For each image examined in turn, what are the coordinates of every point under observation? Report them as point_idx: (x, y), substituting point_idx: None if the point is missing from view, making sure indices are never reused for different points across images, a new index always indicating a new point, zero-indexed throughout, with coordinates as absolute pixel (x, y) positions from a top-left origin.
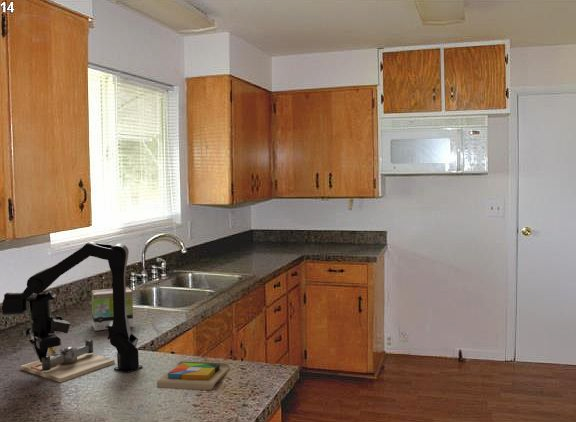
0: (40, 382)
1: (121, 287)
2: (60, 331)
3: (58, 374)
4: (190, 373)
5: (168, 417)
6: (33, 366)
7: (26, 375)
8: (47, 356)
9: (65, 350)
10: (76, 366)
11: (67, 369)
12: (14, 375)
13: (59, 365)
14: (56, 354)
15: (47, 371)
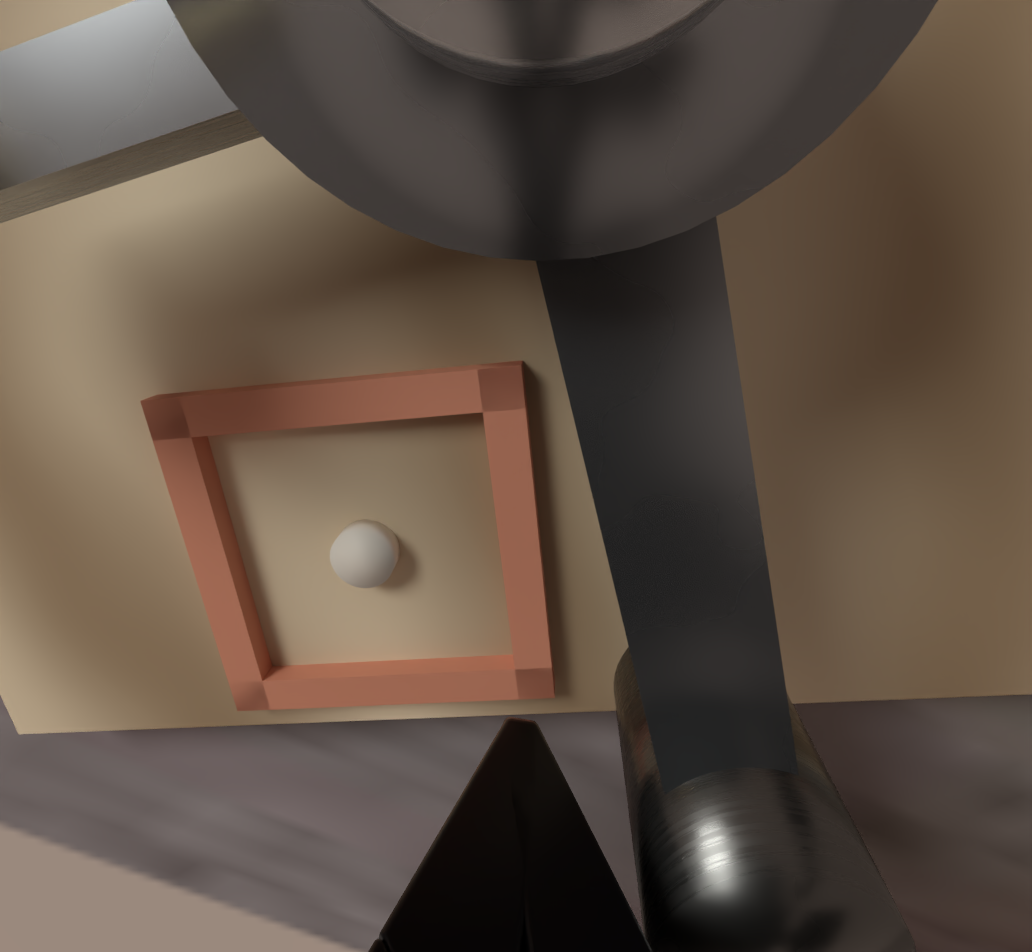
0: (847, 786)
1: None
2: None
3: (1021, 599)
4: None
5: None
6: (265, 687)
7: (393, 758)
8: (804, 938)
9: (659, 49)
10: (993, 50)
11: (951, 332)
12: (270, 833)
13: (538, 306)
14: (81, 172)
15: None
